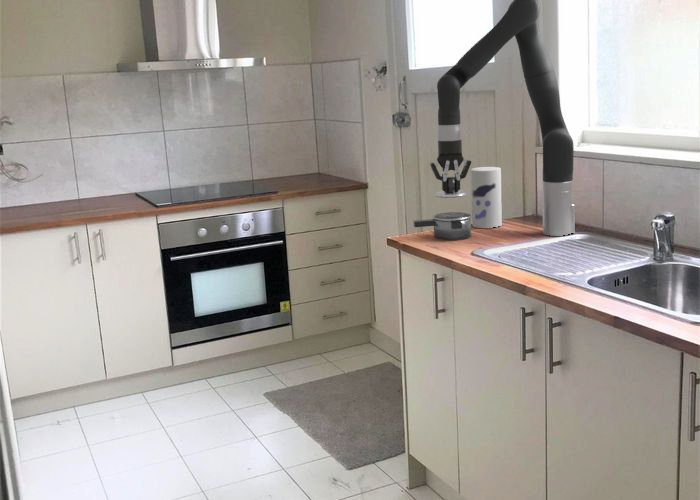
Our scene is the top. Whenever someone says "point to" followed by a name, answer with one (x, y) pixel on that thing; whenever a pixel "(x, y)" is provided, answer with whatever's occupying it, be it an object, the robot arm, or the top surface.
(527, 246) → the top surface
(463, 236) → the pot
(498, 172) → the container
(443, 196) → the lid
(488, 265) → the top surface
